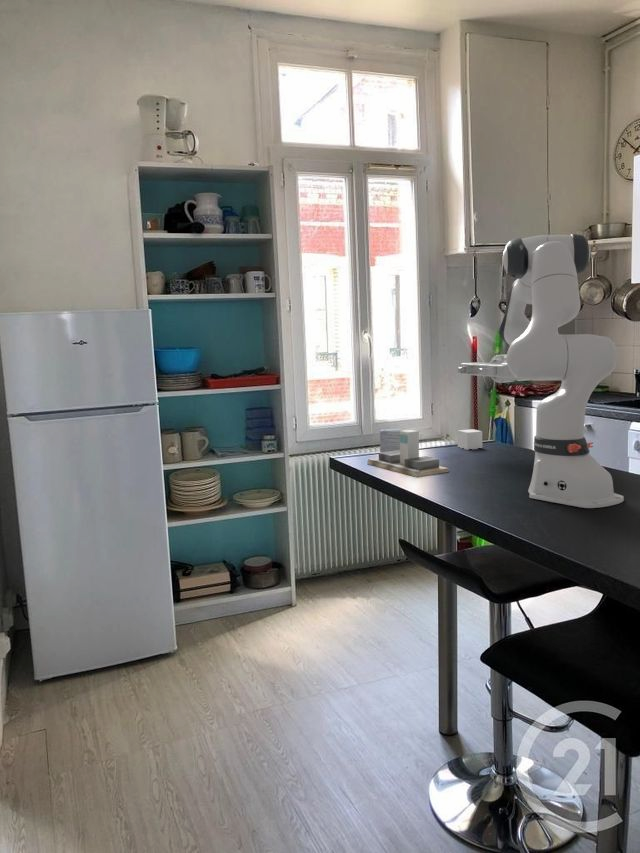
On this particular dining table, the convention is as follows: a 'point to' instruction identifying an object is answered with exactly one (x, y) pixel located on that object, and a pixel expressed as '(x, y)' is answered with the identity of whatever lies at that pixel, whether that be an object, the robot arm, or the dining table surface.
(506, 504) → the dining table surface
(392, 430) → the medicine box
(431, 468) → the mounting board
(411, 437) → the block
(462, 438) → the white cube
